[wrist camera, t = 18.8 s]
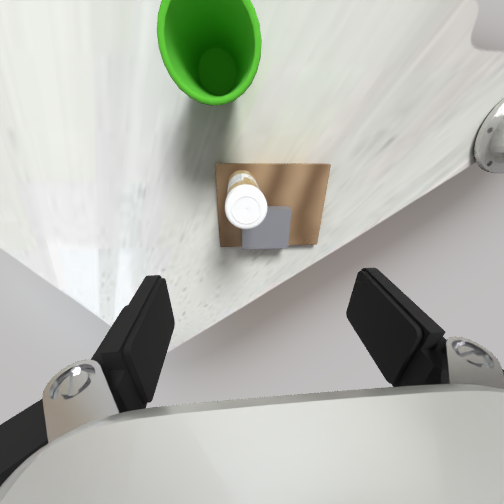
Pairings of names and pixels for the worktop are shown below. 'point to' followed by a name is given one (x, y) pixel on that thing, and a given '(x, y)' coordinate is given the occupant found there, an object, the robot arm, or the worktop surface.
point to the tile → (269, 230)
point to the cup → (210, 47)
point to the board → (279, 197)
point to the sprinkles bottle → (244, 201)
